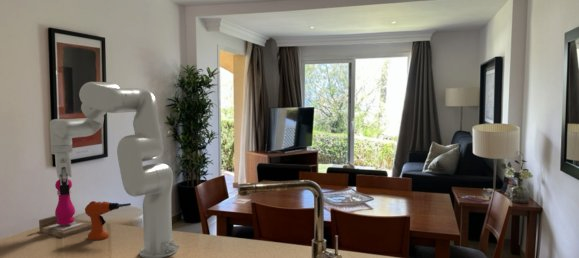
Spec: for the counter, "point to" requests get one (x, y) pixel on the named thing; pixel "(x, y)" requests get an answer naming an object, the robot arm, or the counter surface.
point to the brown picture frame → (62, 227)
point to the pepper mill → (64, 206)
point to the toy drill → (99, 217)
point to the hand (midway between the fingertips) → (64, 192)
